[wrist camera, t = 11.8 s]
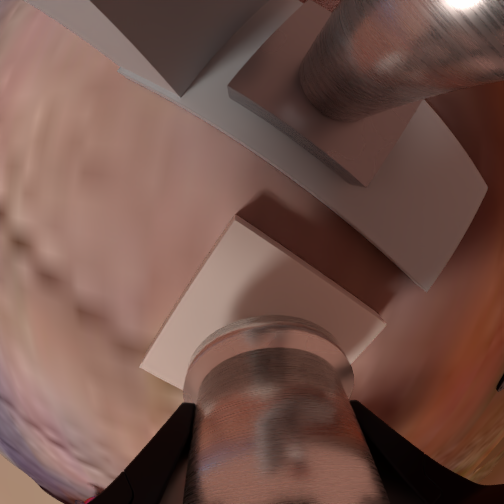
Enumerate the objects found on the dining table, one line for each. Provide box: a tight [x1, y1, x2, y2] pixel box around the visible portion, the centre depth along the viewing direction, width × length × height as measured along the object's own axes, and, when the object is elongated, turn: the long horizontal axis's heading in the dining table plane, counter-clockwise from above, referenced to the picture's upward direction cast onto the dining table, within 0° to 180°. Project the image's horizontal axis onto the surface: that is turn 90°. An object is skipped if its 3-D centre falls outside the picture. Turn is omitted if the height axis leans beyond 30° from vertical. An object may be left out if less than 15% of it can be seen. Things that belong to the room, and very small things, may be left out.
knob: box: [183, 315, 390, 504], centre depth 6 cm, size 6×6×7 cm
